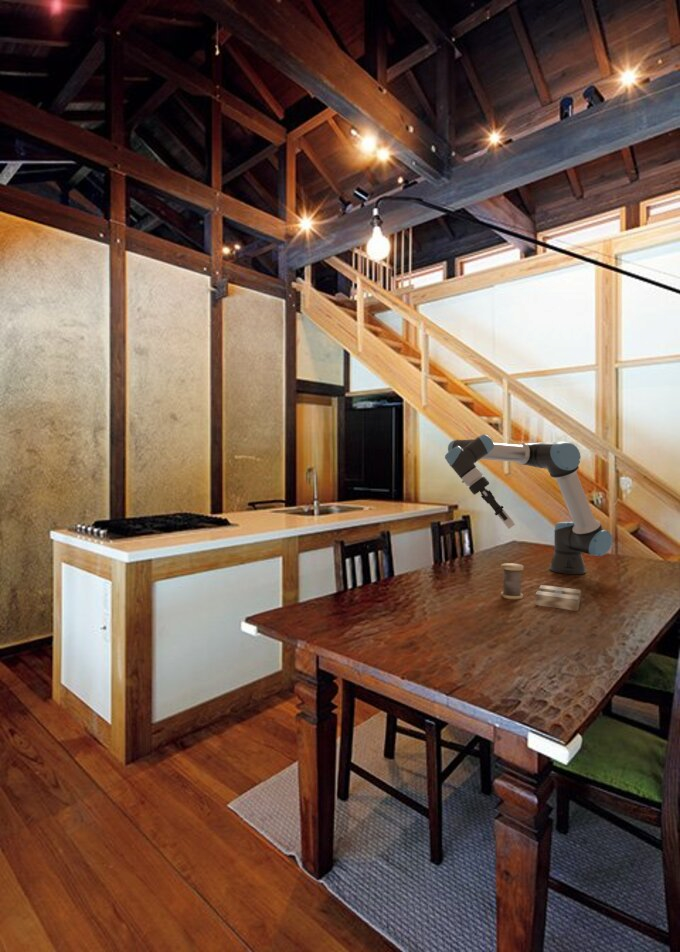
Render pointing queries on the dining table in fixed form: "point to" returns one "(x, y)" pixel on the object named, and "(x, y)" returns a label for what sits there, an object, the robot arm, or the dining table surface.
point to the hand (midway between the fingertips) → (511, 525)
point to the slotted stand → (558, 597)
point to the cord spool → (512, 581)
